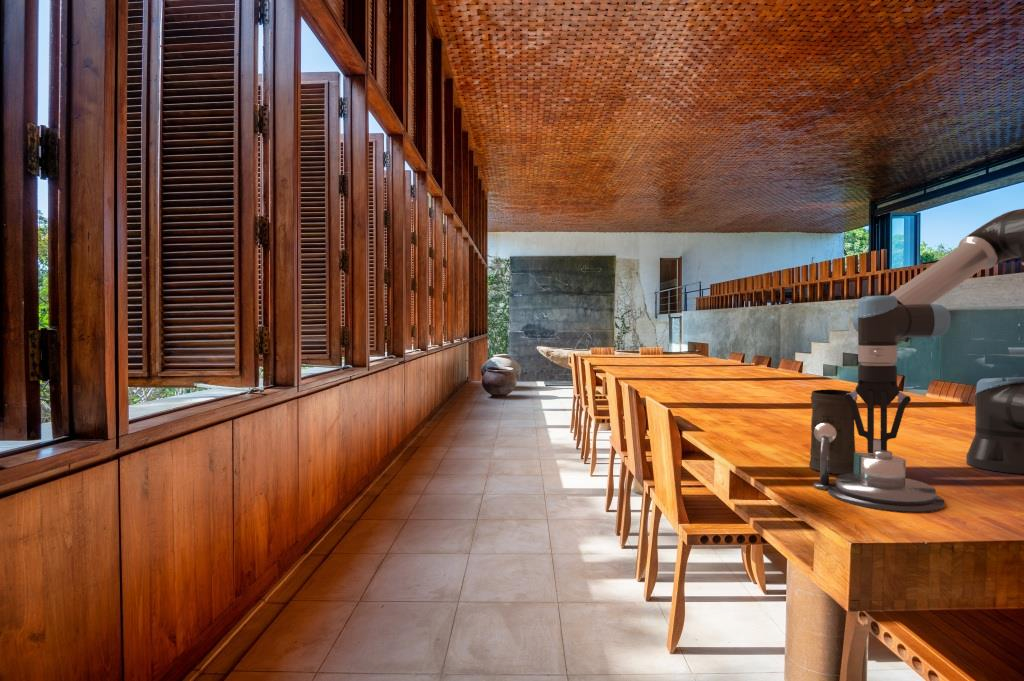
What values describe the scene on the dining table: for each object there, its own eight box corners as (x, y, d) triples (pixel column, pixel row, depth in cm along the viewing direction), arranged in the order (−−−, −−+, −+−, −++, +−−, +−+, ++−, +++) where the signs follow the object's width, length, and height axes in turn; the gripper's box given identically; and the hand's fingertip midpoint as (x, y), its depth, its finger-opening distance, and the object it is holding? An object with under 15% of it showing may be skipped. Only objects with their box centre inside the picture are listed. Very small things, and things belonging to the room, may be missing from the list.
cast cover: (866, 477, 132) (867, 446, 132) (909, 484, 127) (910, 451, 126) (855, 484, 127) (856, 451, 126) (899, 492, 121) (900, 457, 121)
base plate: (904, 484, 137) (904, 481, 137) (970, 513, 116) (970, 509, 116) (810, 483, 138) (810, 480, 138) (859, 512, 117) (859, 508, 117)
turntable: (954, 507, 117) (955, 476, 117) (854, 503, 120) (855, 473, 120) (902, 479, 138) (902, 453, 138) (818, 476, 141) (818, 450, 141)
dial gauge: (815, 484, 138) (816, 420, 137) (837, 487, 135) (838, 422, 135) (811, 488, 134) (812, 423, 134) (833, 491, 132) (834, 425, 131)
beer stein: (856, 477, 144) (857, 394, 143) (806, 471, 149) (807, 391, 149) (858, 465, 157) (859, 388, 156) (813, 460, 163) (813, 386, 162)
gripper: (843, 364, 136) (843, 468, 137) (912, 366, 129) (911, 475, 130) (845, 362, 142) (845, 461, 143) (911, 363, 135) (911, 468, 136)
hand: (877, 468), depth 136 cm, fingers closed
